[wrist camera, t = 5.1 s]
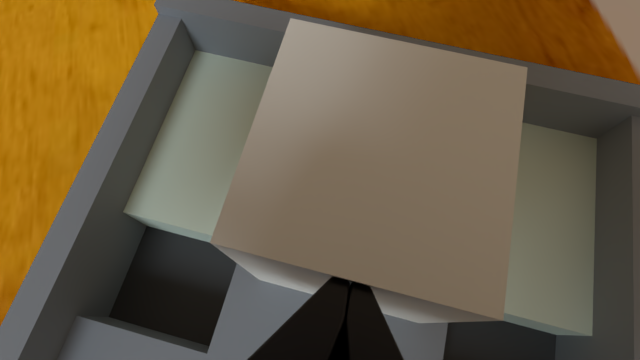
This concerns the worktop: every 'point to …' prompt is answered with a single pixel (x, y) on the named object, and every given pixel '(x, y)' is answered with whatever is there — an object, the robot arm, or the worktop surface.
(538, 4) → the worktop surface
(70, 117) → the worktop surface
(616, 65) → the worktop surface
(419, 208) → the cream block
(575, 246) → the gray open tray
